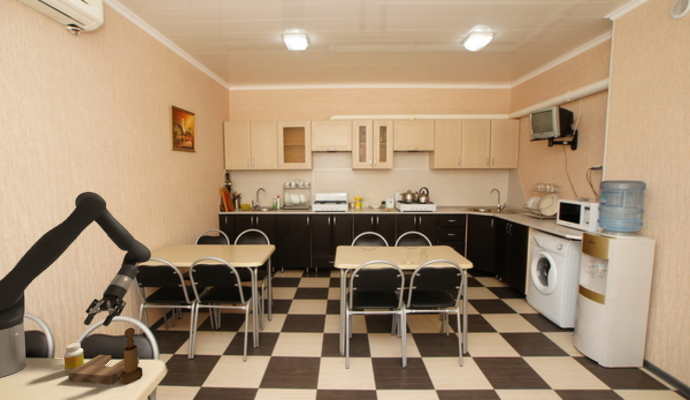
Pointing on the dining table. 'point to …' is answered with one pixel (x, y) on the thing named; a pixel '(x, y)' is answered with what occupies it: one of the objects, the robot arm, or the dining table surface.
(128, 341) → the mortar and pestle
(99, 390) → the dining table surface
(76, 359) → the supplement bottle
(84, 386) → the dining table surface
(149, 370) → the dining table surface
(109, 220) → the robot arm
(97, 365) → the notched board
